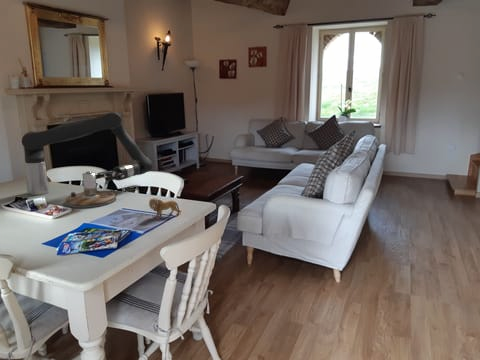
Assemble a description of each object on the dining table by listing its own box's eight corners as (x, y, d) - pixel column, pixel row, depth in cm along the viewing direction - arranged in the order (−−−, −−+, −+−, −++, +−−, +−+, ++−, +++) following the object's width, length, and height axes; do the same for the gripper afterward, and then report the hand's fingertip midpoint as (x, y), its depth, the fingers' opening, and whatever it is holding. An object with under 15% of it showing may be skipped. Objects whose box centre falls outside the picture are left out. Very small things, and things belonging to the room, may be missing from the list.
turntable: (56, 205, 175) (56, 199, 174) (79, 192, 198) (79, 186, 197) (103, 206, 174) (103, 199, 173) (121, 193, 196) (121, 187, 196)
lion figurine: (152, 220, 158) (150, 200, 156) (148, 217, 163) (146, 197, 161) (183, 214, 166) (182, 195, 164) (179, 211, 170) (178, 192, 168)
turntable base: (55, 207, 175) (55, 205, 175) (79, 194, 198) (79, 192, 198) (104, 208, 174) (104, 206, 173) (123, 194, 197) (123, 193, 197)
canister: (81, 198, 182) (78, 173, 179) (87, 194, 189) (85, 170, 186) (94, 198, 182) (92, 173, 179) (100, 194, 189) (98, 170, 186)
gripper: (113, 164, 205) (89, 169, 191) (132, 166, 199) (109, 172, 185) (114, 177, 207) (91, 183, 193) (133, 180, 201) (110, 187, 187)
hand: (99, 178), depth 189 cm, fingers open, 8 cm apart
